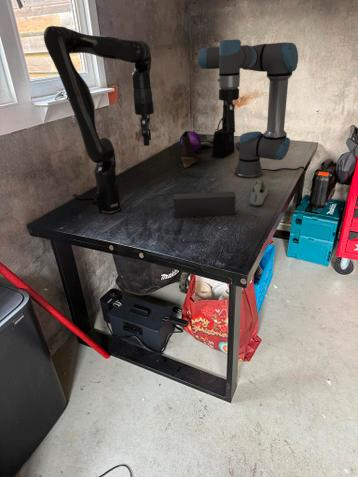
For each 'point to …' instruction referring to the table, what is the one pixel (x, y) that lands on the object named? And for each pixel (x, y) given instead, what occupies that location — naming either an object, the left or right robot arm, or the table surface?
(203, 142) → the pair of gloves
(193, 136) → the decorative orb
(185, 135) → the boot
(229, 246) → the table surface
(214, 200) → the bar
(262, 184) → the ballet flat
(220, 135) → the handbag
